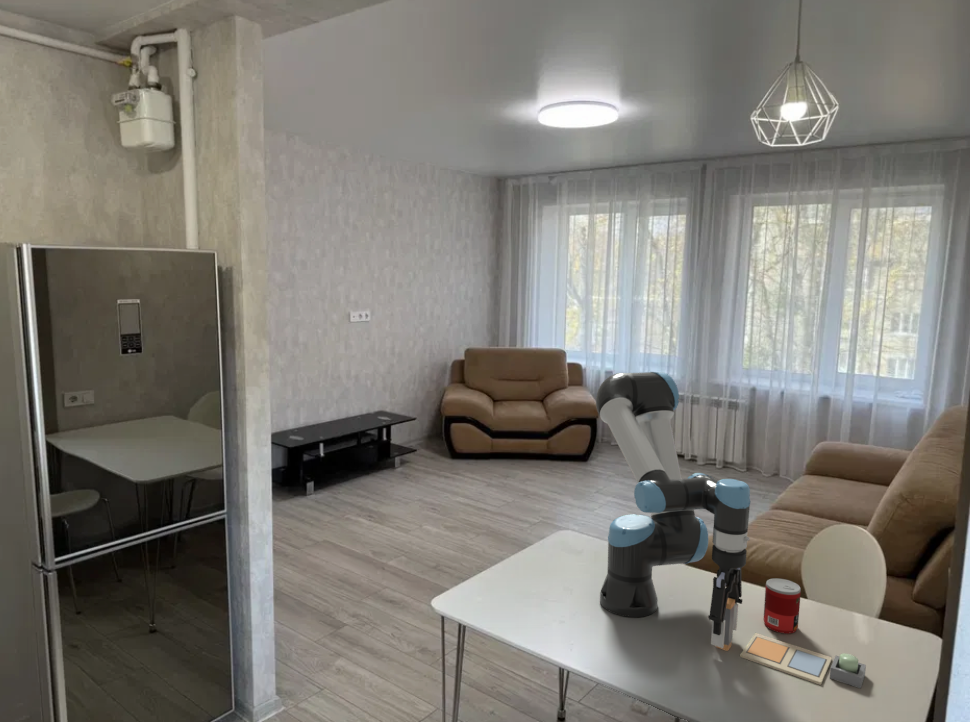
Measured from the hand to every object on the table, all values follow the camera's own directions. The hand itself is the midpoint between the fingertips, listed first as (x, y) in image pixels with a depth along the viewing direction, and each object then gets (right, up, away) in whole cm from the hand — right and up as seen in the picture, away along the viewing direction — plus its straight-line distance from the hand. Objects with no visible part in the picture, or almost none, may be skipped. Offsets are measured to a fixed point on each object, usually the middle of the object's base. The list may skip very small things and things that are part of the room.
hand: (724, 636), depth 157 cm
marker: (0, -3, 0) cm, 2 cm away
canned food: (+18, -2, +10) cm, 20 cm away
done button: (+23, -3, -11) cm, 26 cm away
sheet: (+13, -3, -4) cm, 14 cm away
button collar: (+23, -4, -11) cm, 26 cm away
